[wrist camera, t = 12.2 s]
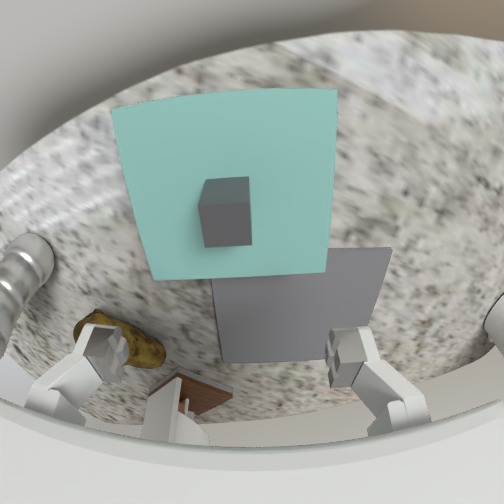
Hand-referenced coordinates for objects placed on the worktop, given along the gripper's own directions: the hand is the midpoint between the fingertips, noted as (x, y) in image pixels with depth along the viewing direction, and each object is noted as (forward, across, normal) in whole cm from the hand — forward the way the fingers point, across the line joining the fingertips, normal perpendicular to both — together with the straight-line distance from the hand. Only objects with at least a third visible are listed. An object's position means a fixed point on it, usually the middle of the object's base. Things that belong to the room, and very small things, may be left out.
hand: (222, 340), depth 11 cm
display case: (+18, +10, +39) cm, 45 cm away
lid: (+13, 0, 0) cm, 13 cm away
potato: (+18, +16, +21) cm, 33 cm away
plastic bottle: (+18, +26, +8) cm, 33 cm away
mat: (+19, -7, +19) cm, 28 cm away
